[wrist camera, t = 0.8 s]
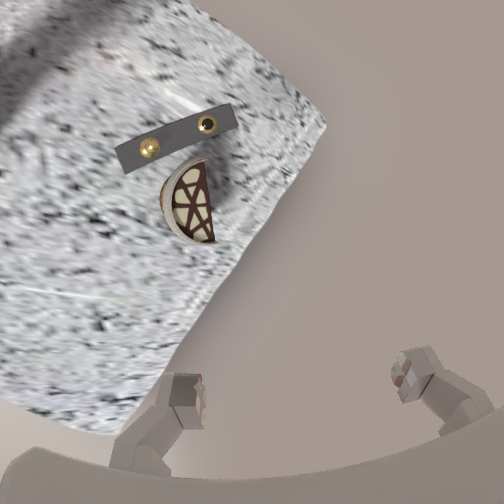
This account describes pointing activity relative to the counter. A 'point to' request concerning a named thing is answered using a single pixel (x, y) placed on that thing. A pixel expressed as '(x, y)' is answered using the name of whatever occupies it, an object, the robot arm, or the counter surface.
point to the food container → (189, 203)
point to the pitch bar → (174, 137)
